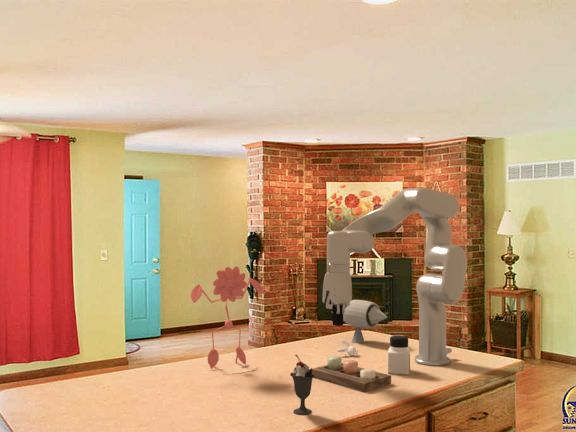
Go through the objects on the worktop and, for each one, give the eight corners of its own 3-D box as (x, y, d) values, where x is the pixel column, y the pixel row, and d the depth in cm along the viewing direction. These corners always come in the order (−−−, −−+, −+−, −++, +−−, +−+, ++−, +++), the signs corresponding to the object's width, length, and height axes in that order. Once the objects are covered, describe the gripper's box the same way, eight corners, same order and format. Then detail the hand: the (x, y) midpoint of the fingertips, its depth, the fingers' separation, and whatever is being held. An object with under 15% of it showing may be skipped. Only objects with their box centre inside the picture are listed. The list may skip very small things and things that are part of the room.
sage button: (334, 366, 191) (334, 355, 191) (344, 368, 188) (344, 358, 188) (324, 368, 188) (324, 357, 188) (334, 371, 185) (334, 360, 185)
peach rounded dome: (349, 370, 186) (350, 359, 186) (360, 373, 183) (360, 362, 183) (340, 372, 183) (340, 361, 183) (351, 375, 180) (351, 364, 180)
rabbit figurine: (357, 358, 212) (337, 347, 213) (353, 363, 215) (334, 353, 216) (361, 346, 217) (342, 336, 218) (357, 352, 219) (338, 342, 220)
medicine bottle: (409, 375, 189) (410, 338, 189) (387, 373, 191) (388, 337, 191) (409, 369, 196) (409, 334, 196) (388, 368, 198) (388, 333, 198)
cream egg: (366, 379, 181) (366, 368, 181) (378, 382, 178) (378, 371, 178) (357, 382, 178) (357, 371, 178) (368, 385, 175) (368, 374, 175)
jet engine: (355, 349, 226) (355, 304, 226) (336, 338, 245) (336, 297, 245) (389, 347, 230) (389, 303, 230) (368, 336, 250) (368, 296, 250)
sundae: (288, 408, 156) (289, 352, 156) (313, 407, 157) (313, 352, 157) (291, 416, 150) (291, 358, 150) (316, 415, 150) (316, 358, 150)
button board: (338, 369, 196) (338, 362, 196) (391, 383, 179) (391, 375, 179) (311, 376, 187) (311, 368, 187) (364, 392, 171) (364, 383, 171)
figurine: (186, 366, 198) (188, 265, 198) (256, 359, 209) (257, 263, 208) (199, 379, 184) (201, 270, 184) (273, 370, 195) (275, 268, 195)
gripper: (344, 267, 195) (344, 321, 195) (314, 269, 185) (313, 326, 185) (361, 268, 190) (361, 324, 190) (331, 271, 179) (331, 330, 179)
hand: (337, 325), depth 187 cm, fingers closed
